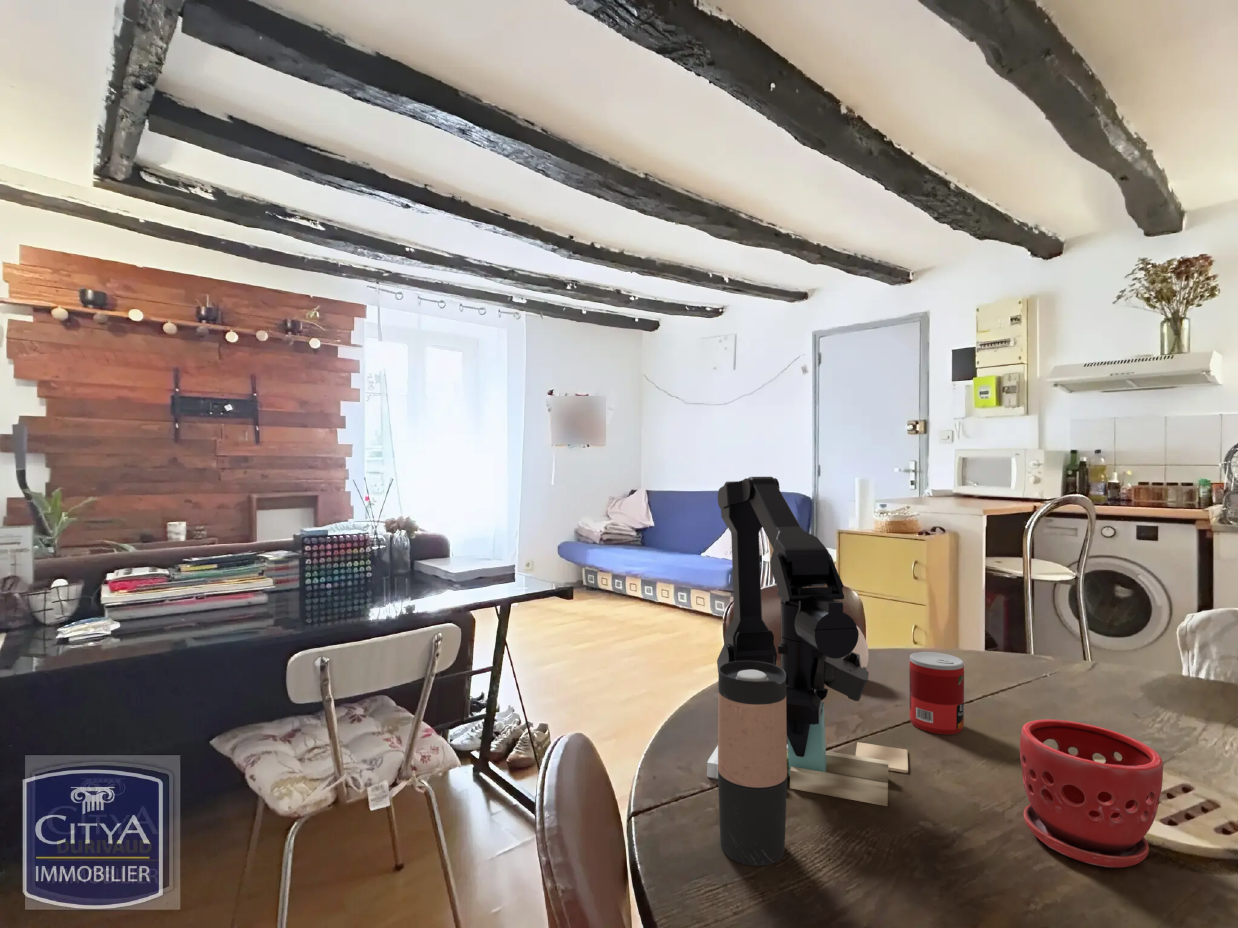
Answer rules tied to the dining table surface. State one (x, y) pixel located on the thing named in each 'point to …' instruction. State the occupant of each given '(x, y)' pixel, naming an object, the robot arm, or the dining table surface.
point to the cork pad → (885, 755)
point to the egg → (862, 649)
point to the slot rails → (846, 778)
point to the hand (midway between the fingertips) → (802, 749)
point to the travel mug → (752, 761)
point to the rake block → (811, 749)
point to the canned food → (936, 692)
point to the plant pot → (1090, 791)
